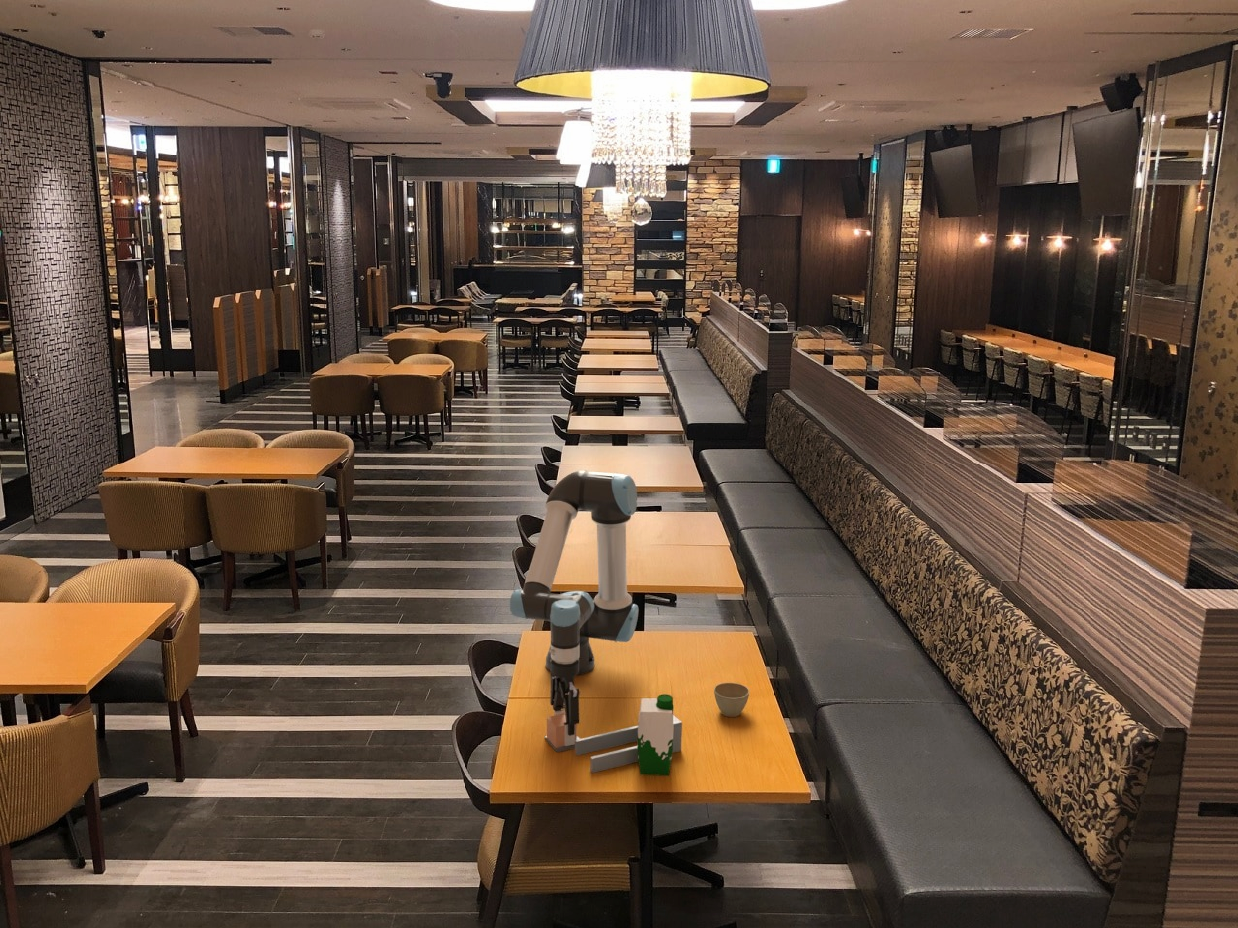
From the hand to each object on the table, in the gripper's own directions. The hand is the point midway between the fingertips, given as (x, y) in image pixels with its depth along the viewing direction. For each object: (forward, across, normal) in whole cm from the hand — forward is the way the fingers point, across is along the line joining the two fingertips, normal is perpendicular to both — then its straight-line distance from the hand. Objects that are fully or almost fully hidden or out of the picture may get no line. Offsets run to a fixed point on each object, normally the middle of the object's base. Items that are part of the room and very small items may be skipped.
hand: (564, 738), depth 279 cm
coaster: (+1, 0, 0) cm, 1 cm away
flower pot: (+1, +5, +50) cm, 50 cm away
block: (0, 0, -1) cm, 1 cm away
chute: (+1, +12, +13) cm, 18 cm away
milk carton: (+2, +22, +16) cm, 27 cm away
